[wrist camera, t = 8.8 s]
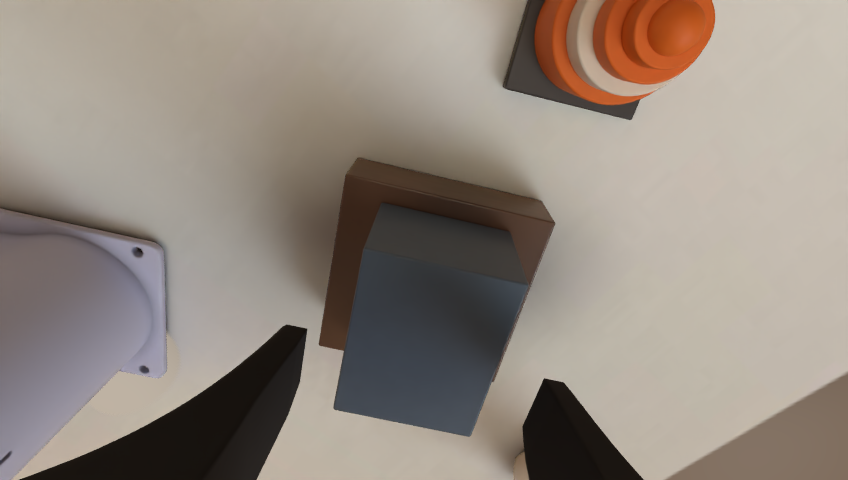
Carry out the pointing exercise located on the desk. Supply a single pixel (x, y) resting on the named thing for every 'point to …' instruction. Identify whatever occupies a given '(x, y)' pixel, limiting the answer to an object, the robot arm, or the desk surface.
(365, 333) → the blue block
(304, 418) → the desk surface
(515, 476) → the milkshake
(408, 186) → the base block
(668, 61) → the cone
